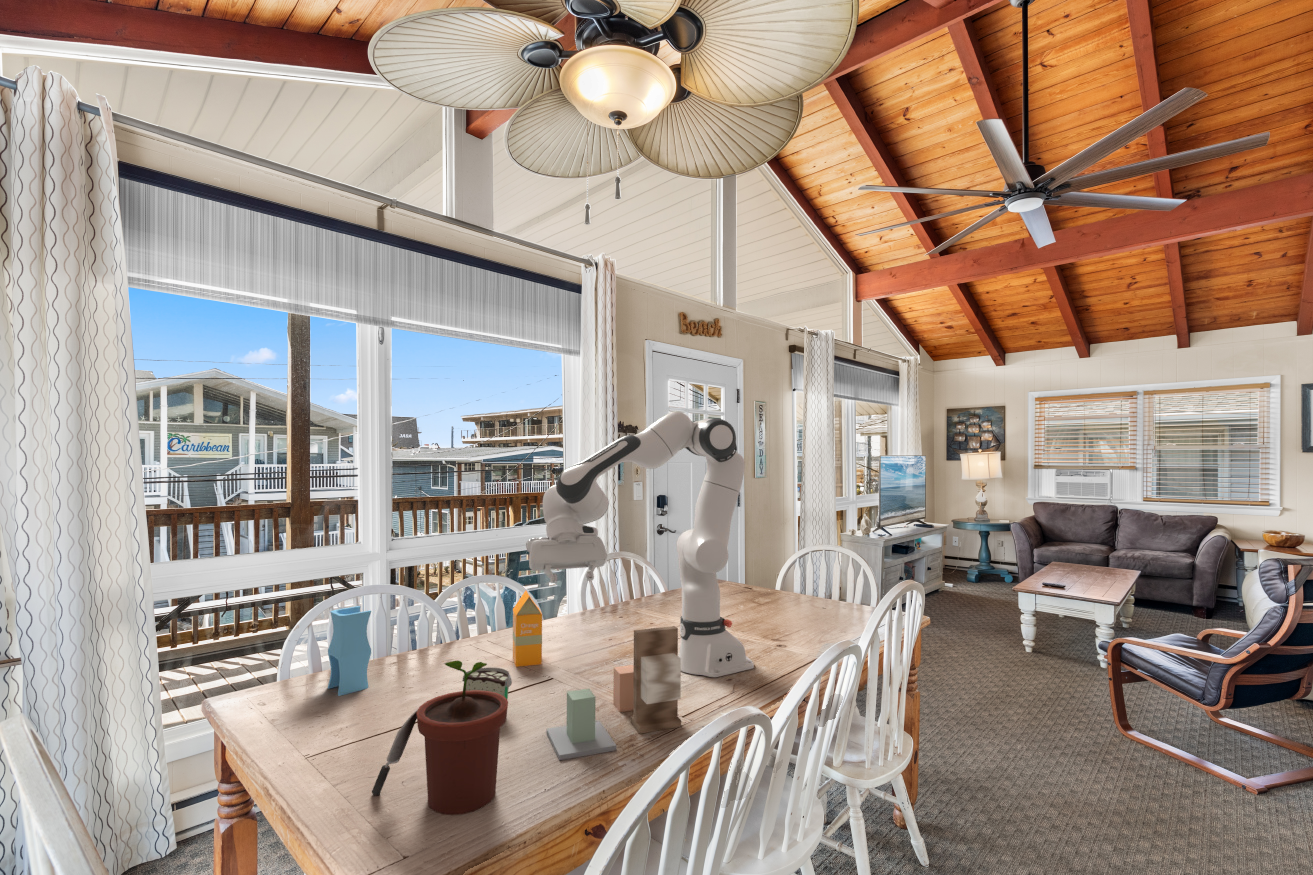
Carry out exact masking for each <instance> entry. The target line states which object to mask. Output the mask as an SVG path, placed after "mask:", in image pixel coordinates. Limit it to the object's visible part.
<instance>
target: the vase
mask: <svg viewBox="0 0 1313 875" xmlns="http://www.w3.org/2000/svg"><path fill="white" fill-rule="evenodd" d="M371 613H372V610H370V609H369V610H364V611H361V606H360V605H357V606H350V607H345V608H339V609H338V608H337V609H334V610H331V611H330V616H331V620H332V627H333V628H332V630H333V631H332V636H331V641H330V644H329V647H328V648H327V655H328V660H329V664H330V675H329V681H328V684H327V689H333V688H336V687H338V691H337V697H338V696H339V697H341V696H345V695H348V694H353V693H357V692H359V691H364V690H366V689H368V688H370V687H369V681H368V680H369V679H368V668H369V667H368V666H369V662H370V659H371V655H372V648H371V646H370V643H369V640H368V632H367V631H368V623H369V620H370V617H371Z"/></svg>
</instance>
